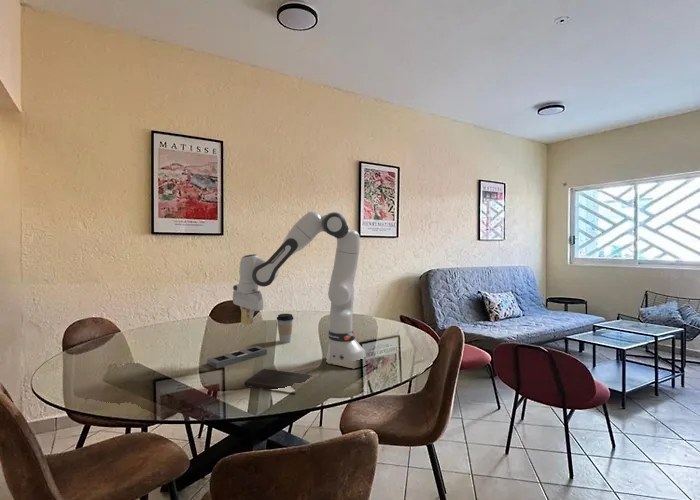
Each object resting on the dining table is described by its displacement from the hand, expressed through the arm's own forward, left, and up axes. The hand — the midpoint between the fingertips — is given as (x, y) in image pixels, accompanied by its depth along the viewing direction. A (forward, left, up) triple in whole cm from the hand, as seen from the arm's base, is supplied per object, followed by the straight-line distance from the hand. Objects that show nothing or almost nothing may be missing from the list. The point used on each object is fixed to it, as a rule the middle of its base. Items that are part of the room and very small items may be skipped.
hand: (247, 316), depth 193 cm
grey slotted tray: (+4, +3, -21) cm, 21 cm away
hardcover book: (-34, +8, -22) cm, 41 cm away
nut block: (0, 0, -3) cm, 3 cm away
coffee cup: (+10, -31, -21) cm, 39 cm away
